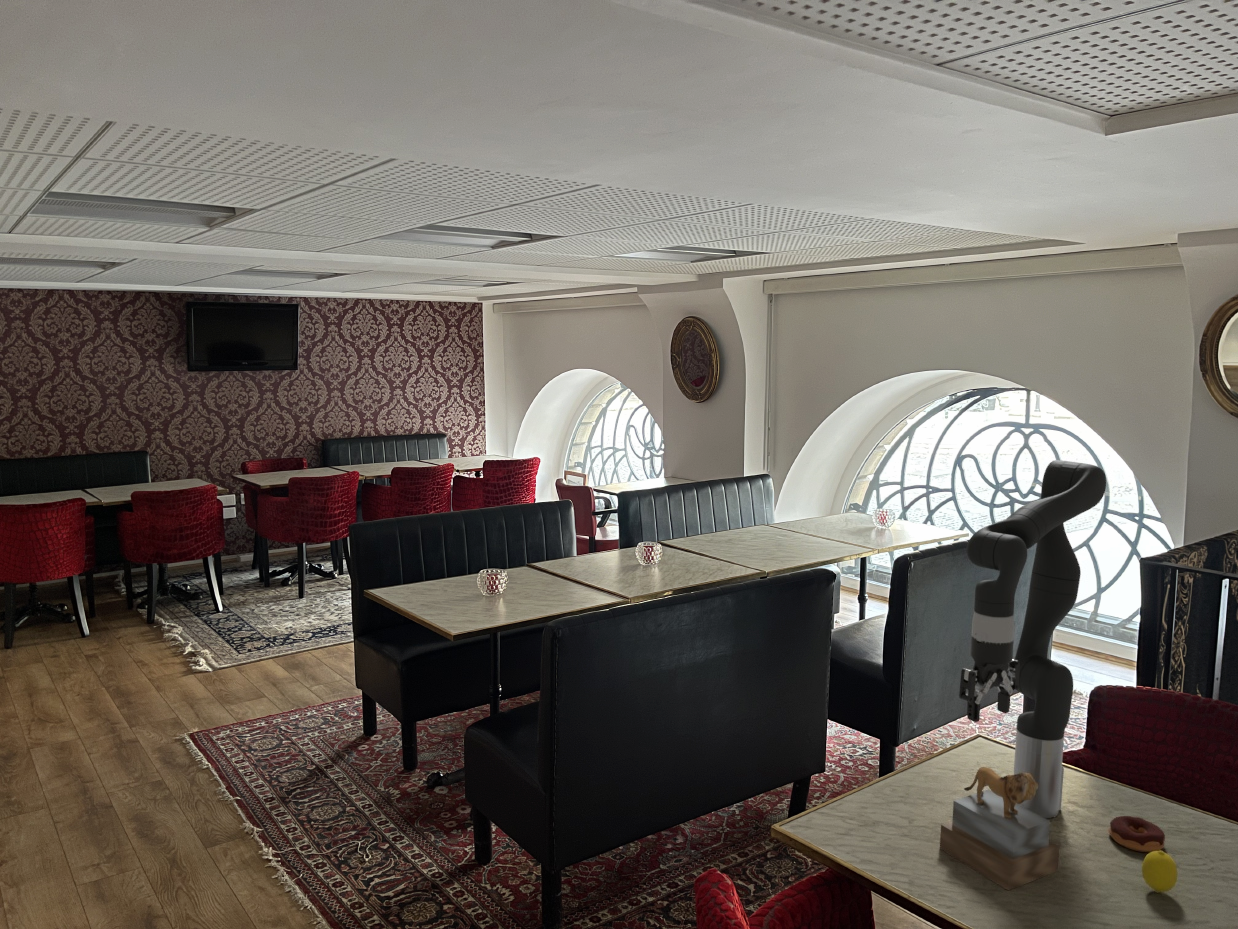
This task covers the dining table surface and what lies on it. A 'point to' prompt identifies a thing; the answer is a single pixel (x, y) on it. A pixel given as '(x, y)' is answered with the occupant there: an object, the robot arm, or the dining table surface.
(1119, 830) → the donut
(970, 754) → the dining table surface
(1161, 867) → the lemon
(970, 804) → the two-tone block
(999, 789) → the lion figurine
